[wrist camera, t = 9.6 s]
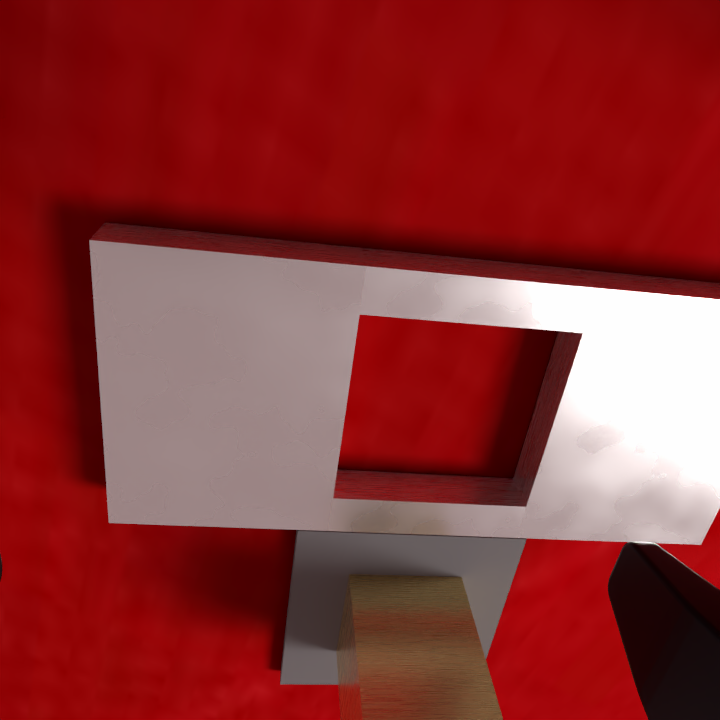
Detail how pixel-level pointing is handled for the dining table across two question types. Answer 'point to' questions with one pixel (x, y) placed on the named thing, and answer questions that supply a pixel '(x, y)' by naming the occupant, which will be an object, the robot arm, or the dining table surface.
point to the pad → (383, 557)
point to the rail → (332, 378)
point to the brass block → (411, 652)
